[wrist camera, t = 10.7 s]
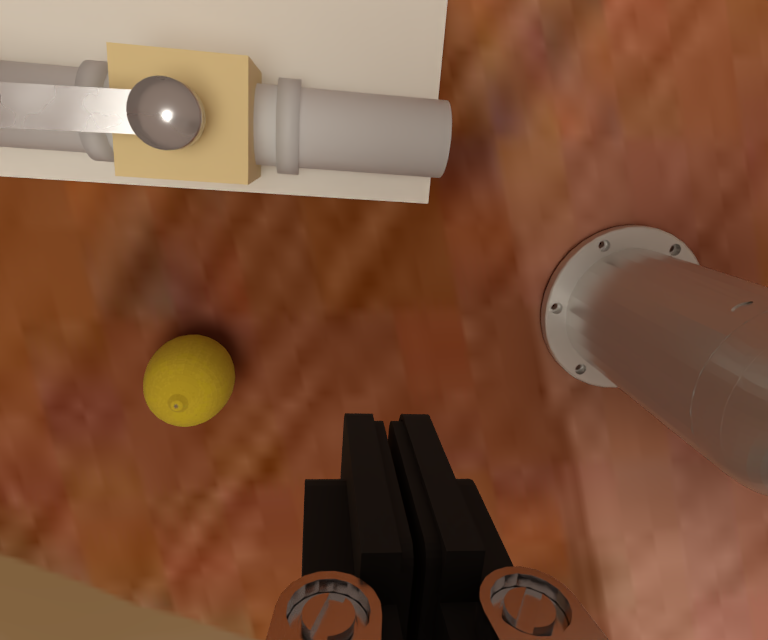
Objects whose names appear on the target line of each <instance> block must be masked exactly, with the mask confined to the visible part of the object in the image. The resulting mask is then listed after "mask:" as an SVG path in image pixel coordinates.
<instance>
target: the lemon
mask: <svg viewBox="0 0 768 640" xmlns="http://www.w3.org/2000/svg"><path fill="white" fill-rule="evenodd" d="M234 382H235V370H234V364H233V362H232V359H231V356H230V355H229V353H228V352H227V350H226V349H225V348H224V347H223V346H222V345H221V344H219V343H218V342H217V341H215V340H213V339H211V338H209V337H206V336H202V335H184V336H180V337H177V338H174V339H172V340H170V341H168V342H167V343H165V344H164V345H163V346H162V347H161V348H159V349H158V350H157V351H156V352H155V354H154V355H153V357H152V358H151V360H150V361H149V363H148V365H147V368H146V371H145V374H144V379H143V393H144V396H145V400H146V403H147V405H148V406H149V408H150V410H151V411H152V412H153V413H154V414H155V415H156V416H157V417H158V418H159V419H161V420H163V421H164V422H166V423H169V424H172V425H175V426H183V427H187V426H195V425H198V424H201V423H203V422H206V421H207V420H209V419H210V418H212V417H214V416H215V415H216V414H217V413H218V412H219V411H220V410H221V409H222V408H223V407H224V406H225V404H226V403H227V401H228V399H229V397H230V395H231V394H232V391H233V387H234Z"/></svg>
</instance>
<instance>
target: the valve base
mask: <svg viewBox="0 0 768 640" xmlns="http://www.w3.org/2000/svg"><path fill="white" fill-rule="evenodd" d="M447 2H448V0H0V82H10V83H27V84H44V85H62V86H79V87H96V88H113V89H130V90H132V88H133V87H134V86H135V85H136V84H137V83H138V82H139V81H141V80H143V79H145V78H147V77H150V76H166V77H170V78H173V79H175V80H177V81H180V82H182V83H184V84H186V85H187V86H189V87H190V88H191V89H192V90H194V91H195V93H196V94H197V95H198V96H199V98H200V99H201V101H202V103H203V106H204V109H205V115H206V123H205V128H204V131H203V133H202V135H201V136H200V138H199V139H198V140H197V141H196V142H195V143H194V144H193V145H191V146H189V147H187V148H184V149H179V150H160V149H156V148H153V147H151V146H149V145H147V144H146V143H144V142H143V141H142V140H141V139H139V138H138V137H137V135H136V134H119V133H99V132H78V131H57V130H37V129H16V128H0V176H6V177H22V178H37V179H53V180H68V181H84V182H99V183H115V184H130V185H146V186H161V187H177V188H192V189H208V190H223V191H239V192H255V193H270V194H286V195H301V196H317V197H332V198H348V199H363V200H379V201H394V202H410V203H425V204H428V200H429V189H430V179H431V177H434V178H440V177H441V176H442V175H443V173H444V170H445V168H446V164H447V160H448V156H449V150H450V143H451V133H452V113H451V106H450V103H449V101H448V100H438V96H439V85H440V75H441V64H442V54H443V43H444V33H445V23H446V12H447Z"/></svg>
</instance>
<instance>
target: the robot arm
mask: <svg viewBox="0 0 768 640" xmlns="http://www.w3.org/2000/svg"><path fill="white" fill-rule="evenodd" d="M600 242H601V245H600V246H599V243H600ZM554 303H555V306H554V307H553V308H551V307H552V305H553V304H554ZM541 326H542V332H543V338H544V340H545V343H546V345H547V347H548V350H549V352H550V353H551V355H552V356H553V358H554V359H555V360H556V362H557V363H558V364H559V365H560V366H561V367H562V368H563V369H564V370H565V371H567V372H568V373H569V374H570V375H572V376H573V377H574V378H576V379H578V380H580V381H583V382H585V383H587V384H590V385H594V386H599V387H611V388H618V387H619V388H620V389H621V390H623V391H624V392H625V393H626V394H627V395H629V396H630V397H631V398H632V399H634V400H635V401H636V402H637V403H639V404H640V405H641V406H642V407H644V408H645V409H646V410H647V411H648V412H650V413H651V414H652V415H653V416H655V417H656V418H657V419H658V420H660V421H661V422H662V423H663V424H664V425H666V426H667V427H668V428H669V429H671V430H672V431H673V432H674V433H676V434H677V435H678V436H679V437H681V438H682V439H683V440H684V441H685V442H687V443H688V444H689V445H690V446H692V447H693V448H694V449H695V450H697V451H698V452H699V453H700V454H702V455H703V456H704V457H705V458H707V459H708V460H709V461H711V462H712V463H713V464H714V465H716V466H717V467H718V468H719V469H721V470H722V471H723V472H724V473H726V474H727V475H728V476H730V477H731V478H732V479H734V480H735V481H737V482H738V483H740V484H742V485H743V486H745V487H747V488H749V489H751V490H753V491H755V492H757V493H760V494H763V495H766V496H768V287H765V286H762V285H759V284H756V283H753V282H750V281H747V280H744V279H740V278H737V277H734V276H731V275H728V274H725V273H722V272H719V271H716V270H712V269H709V268H706V267H703V266H700V264H699V262H698V261H697V259H696V257H695V255H694V253H693V252H692V251H691V250H690V249H689V248H688V246H687V245H686V244H685V243H684V242H682V241H681V240H680V239H678V238H677V237H675V236H674V235H673V234H670V233H668V232H665V231H663V230H660V229H657V228H653V227H649V226H642V225H625V226H617V227H613V228H610V229H607V230H604V231H601V232H598V233H596V234H595V235H593V236H591V237H589V238H587V239H586V240H584V241H583V242H581V243H580V244H579V245H578V246H576V247H575V248H574V249H573V250H571V251H570V252H569V254H568V255H567V256H566V257H565V258H564V259H563V260H562V261H561V263H560V264H559V265H558V267H557V269H556V270H555V272H554V273H553V275H552V277H551V278H550V281H549V283H548V286H547V288H546V291H545V293H544V298H543V303H542V307H541ZM576 366H577V367H576ZM266 640H608V638H607V637H606V636H605V634H604V633H603V632H602V631H601V629H600V628H599V627H598V625H597V624H596V623H595V621H594V620H593V619H592V617H591V616H590V615H589V613H588V612H587V611H586V610H585V608H584V607H583V606H582V604H581V603H580V602H579V600H578V599H577V598H576V596H575V595H574V594H573V593H572V592H571V591H570V590H569V589H568V588H567V587H566V586H565V585H564V584H563V583H561V582H560V581H558V580H557V579H555V578H554V577H552V576H551V575H548V574H546V573H543V572H541V571H539V570H536V569H531V568H526V567H521V566H516V567H514V566H513V564H512V562H511V560H510V558H509V556H508V553H507V551H506V549H505V547H504V545H503V543H502V541H501V539H500V536H499V534H498V532H497V530H496V528H495V526H494V524H493V521H492V519H491V517H490V515H489V513H488V511H487V509H486V506H485V504H484V502H483V500H482V498H481V496H480V494H479V491H478V489H477V487H476V485H475V483H474V482H473V480H471V479H456V478H455V476H454V474H453V471H452V469H451V467H450V464H449V462H448V459H447V457H446V455H445V452H444V450H443V447H442V445H441V443H440V440H439V438H438V435H437V433H436V431H435V428H434V426H433V423H432V421H431V419H430V416H429V415H425V414H401V415H400V419H399V421H391V422H390V425H389V435H388V439H387V435H386V431H385V427H384V423H383V421H374V418H373V414H346V413H345V416H344V429H343V446H342V463H341V479H305V495H304V522H303V552H302V577H301V578H299V579H297V580H296V581H294V582H292V583H291V584H290V585H289V586H288V587H287V588H286V589H285V590H284V591H283V592H282V593H281V595H280V597H279V599H278V601H277V603H276V605H275V609H274V612H273V616H272V620H271V623H270V627H269V630H268V634H267V638H266Z"/></svg>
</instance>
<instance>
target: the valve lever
mask: <svg viewBox="0 0 768 640" xmlns="http://www.w3.org/2000/svg"><path fill="white" fill-rule="evenodd" d="M205 123H206V115H205V109H204V106H203V103H202V101H201V99H200V98H199V96H198V95H197V94H196V93H195V91H194V90H192V89H191V88H190V87H189V86H187V85H186V84H184V83H182V82H180V81H177V80H175V79H173V78H170V77H166V76H150V77H147V78H145V79H143V80H141V81H139V82H138V83H137V84H136V85H135V86H134V87H133V88H132V90H130V89H113V88H96V87H79V86H62V85H44V84H27V83H10V82H0V128H16V129H37V130H57V131H78V132H99V133H119V134H136V135H137V137H138V138H139V139H141V140H142V141H143V142H144V143H146V144H147V145H149V146H151V147H153V148H156V149H160V150H179V149H184V148H187V147H189V146H191V145H193V144H194V143H195V142H196V141H197V140H198V139H199V138H200V136H201V135H202V133H203V131H204V128H205Z"/></svg>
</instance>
